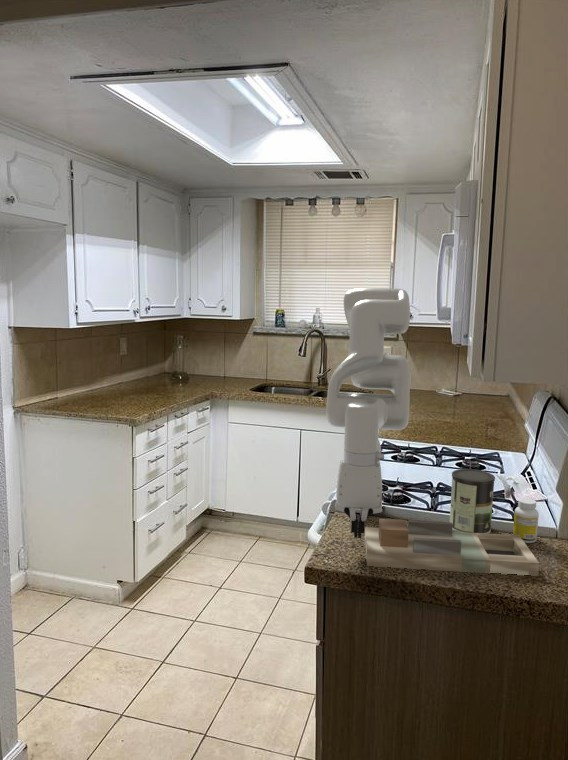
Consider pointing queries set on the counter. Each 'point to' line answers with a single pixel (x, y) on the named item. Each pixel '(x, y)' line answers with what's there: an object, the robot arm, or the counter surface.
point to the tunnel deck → (452, 551)
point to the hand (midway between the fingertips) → (357, 535)
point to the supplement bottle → (526, 520)
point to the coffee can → (471, 501)
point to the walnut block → (393, 533)
